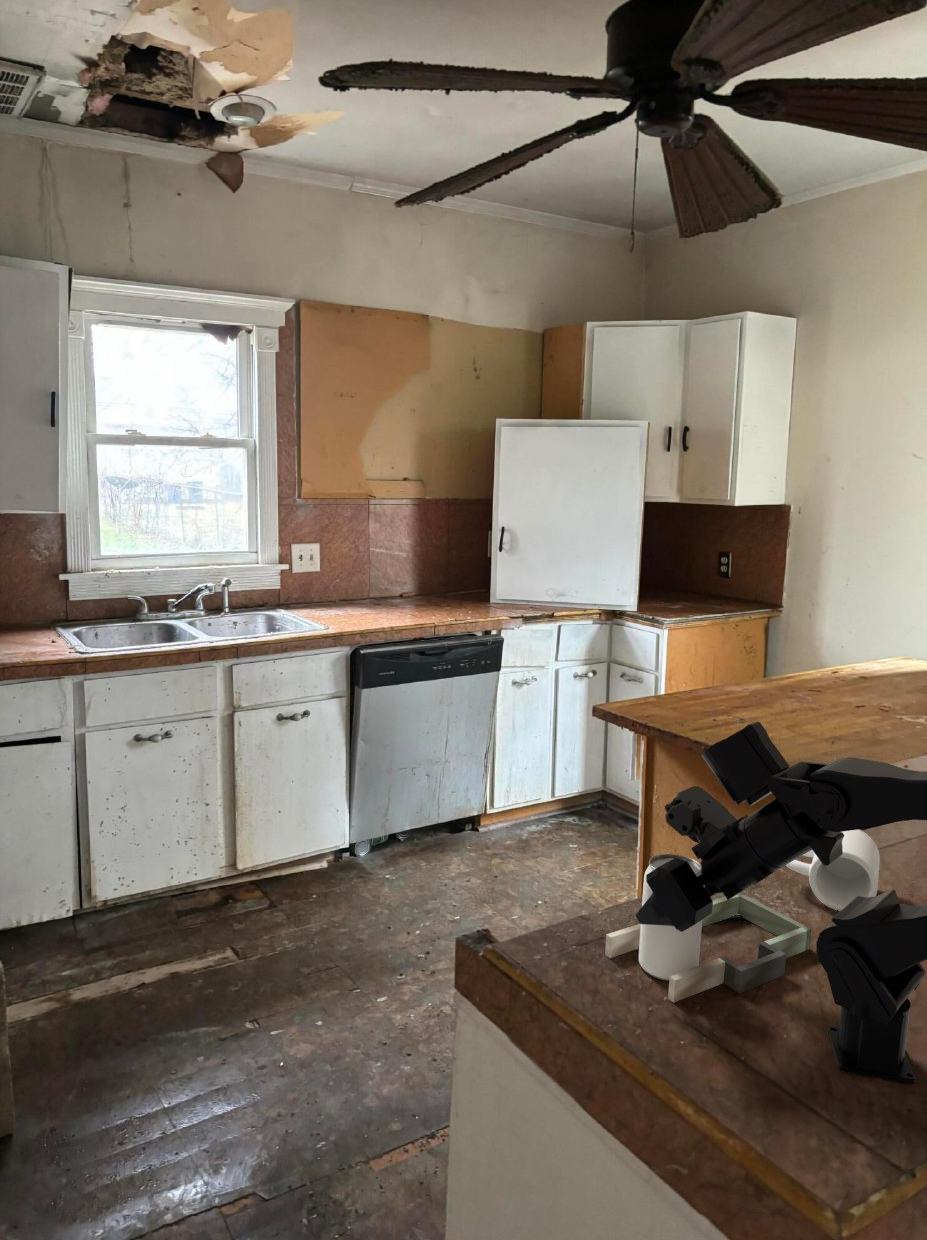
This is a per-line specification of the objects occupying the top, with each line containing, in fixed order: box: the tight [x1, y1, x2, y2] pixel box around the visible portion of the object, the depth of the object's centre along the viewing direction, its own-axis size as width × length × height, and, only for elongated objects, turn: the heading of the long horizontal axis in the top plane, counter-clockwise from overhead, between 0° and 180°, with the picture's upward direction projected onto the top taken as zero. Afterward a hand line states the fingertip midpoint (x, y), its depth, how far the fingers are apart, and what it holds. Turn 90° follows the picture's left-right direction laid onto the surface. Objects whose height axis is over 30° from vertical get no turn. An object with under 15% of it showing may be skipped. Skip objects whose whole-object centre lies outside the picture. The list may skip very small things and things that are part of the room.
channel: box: [604, 892, 813, 1004], centre depth 101 cm, size 22×15×2 cm
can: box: [638, 853, 705, 982], centre depth 97 cm, size 6×6×12 cm
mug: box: [784, 829, 881, 912], centre depth 117 cm, size 12×10×8 cm
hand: (661, 905), depth 97 cm, fingers open, 9 cm apart
